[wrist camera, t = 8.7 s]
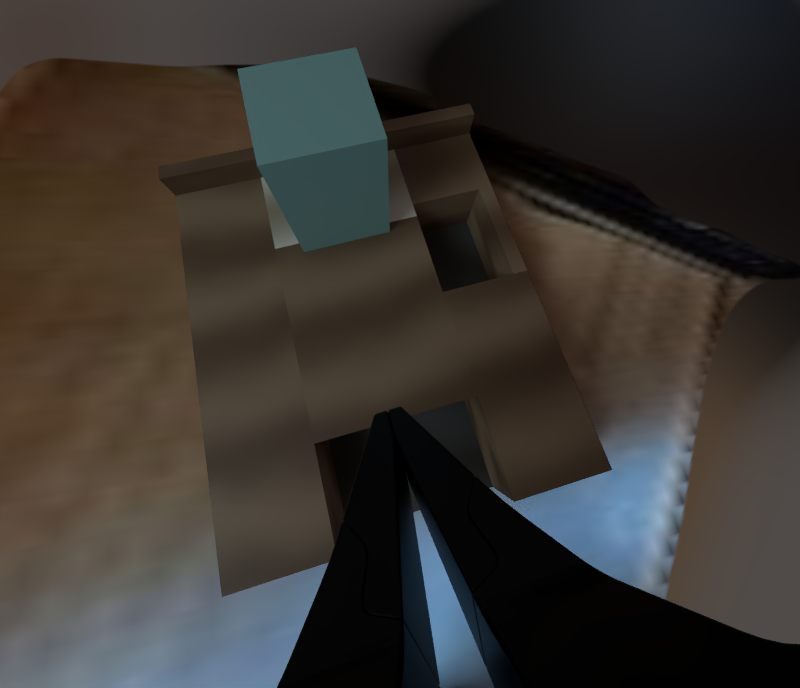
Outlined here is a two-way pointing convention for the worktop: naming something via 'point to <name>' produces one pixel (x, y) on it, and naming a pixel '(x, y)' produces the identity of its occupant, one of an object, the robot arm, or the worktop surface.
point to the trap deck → (364, 346)
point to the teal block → (320, 146)
